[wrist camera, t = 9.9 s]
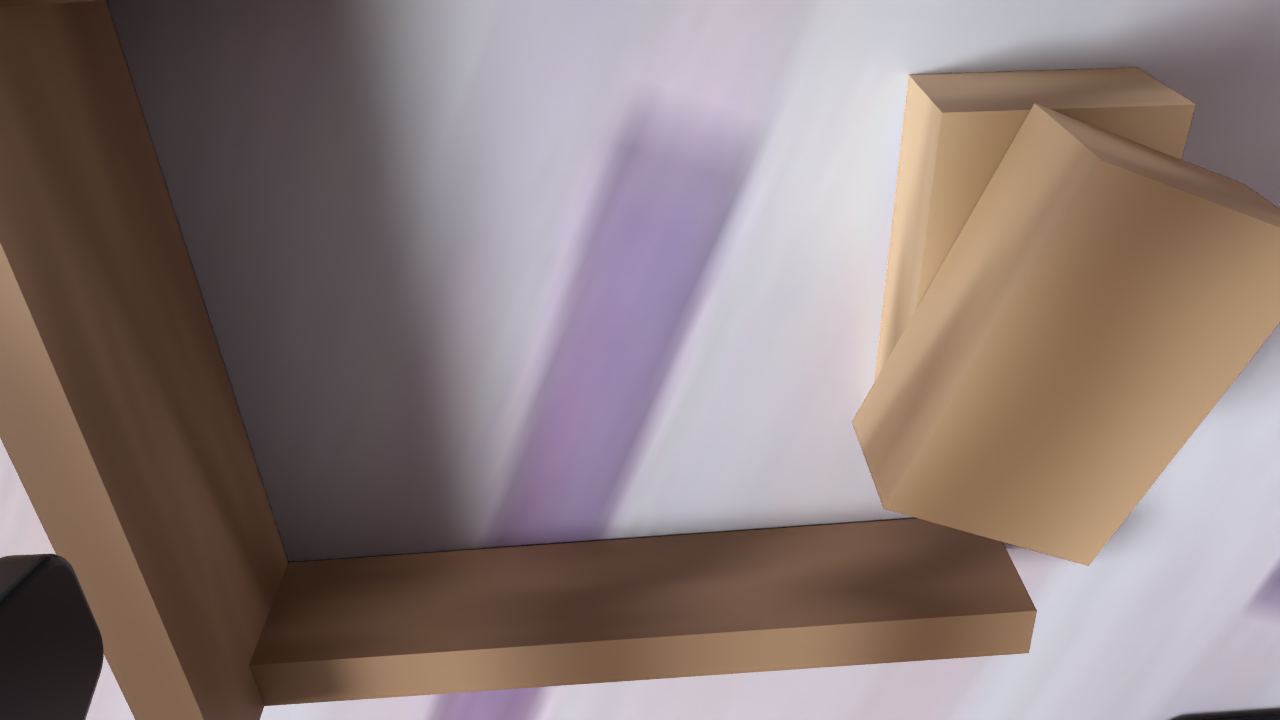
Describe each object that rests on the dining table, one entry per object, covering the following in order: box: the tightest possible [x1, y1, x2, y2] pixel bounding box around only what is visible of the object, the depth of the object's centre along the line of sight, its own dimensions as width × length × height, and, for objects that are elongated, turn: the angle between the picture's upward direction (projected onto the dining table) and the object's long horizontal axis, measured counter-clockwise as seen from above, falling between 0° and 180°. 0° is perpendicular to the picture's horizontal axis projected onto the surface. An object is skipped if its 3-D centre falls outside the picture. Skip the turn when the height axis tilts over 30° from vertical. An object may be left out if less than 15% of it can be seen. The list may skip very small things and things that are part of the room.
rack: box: [0, 0, 1037, 720], centre depth 18 cm, size 17×15×5 cm
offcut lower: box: [874, 67, 1196, 382], centre depth 19 cm, size 4×7×2 cm, turn 2°
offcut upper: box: [852, 104, 1280, 566], centre depth 17 cm, size 4×6×2 cm, turn 160°
